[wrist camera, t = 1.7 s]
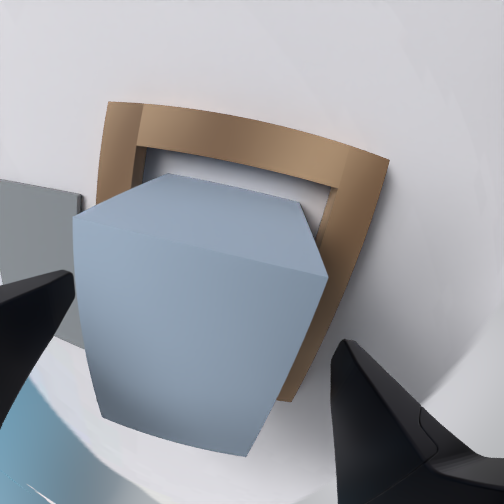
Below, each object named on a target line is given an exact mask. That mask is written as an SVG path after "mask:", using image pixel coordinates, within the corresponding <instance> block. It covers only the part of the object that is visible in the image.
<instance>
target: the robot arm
mask: <svg viewBox="0 0 504 504" xmlns="http://www.w3.org/2000/svg"><path fill="white" fill-rule="evenodd" d="M74 298H75V285H74V276H73V273H72V272H69V271H67V270H63V269H62V270H58V271H54V272H50V273H46V274H42V275H38V276H34V277H31V278H27V279H23V280H19V281H16V282H12V283H8V284H5V285H1V286H0V429H1V426H2V423H3V422H4V420H5V418H6V416H7V414H8V412H9V410H10V408H11V406H12V404H13V403H14V401H15V399H16V397H17V395H18V393H19V391H20V390H21V388H22V386H23V385H24V383H25V381H26V379H27V378H28V376H29V374H30V373H31V371H32V369H33V368H34V366H35V364H36V363H37V361H38V359H39V358H40V356H41V355H42V353H43V351H44V350H45V348H46V347H47V345H48V344H49V342H50V341H51V339H52V338H53V336H54V335H55V333H56V331H57V329H58V328H59V326H60V324H61V322H62V320H63V319H64V317H65V315H66V313H67V311H68V310H69V308H70V306H71V304H72V302H73V301H74ZM331 414H332V424H333V435H334V447H335V461H336V476H337V493H338V494H337V495H338V504H504V458H488V457H484V456H481V455H479V454H477V453H475V452H474V451H473V450H471V449H470V448H469V447H468V446H466V445H465V444H464V443H463V442H462V441H460V440H459V439H458V438H457V437H455V436H454V435H453V434H452V433H451V432H449V431H448V430H447V429H446V428H445V427H444V426H442V425H441V424H440V423H439V422H438V421H437V420H436V419H435V418H434V417H433V416H431V415H430V414H429V413H428V412H427V411H426V410H425V409H424V408H423V407H421V405H420V404H419V403H418V402H417V401H416V400H415V399H414V398H413V397H412V396H411V395H410V394H409V393H408V392H407V391H406V390H405V389H404V388H403V387H402V386H401V385H400V384H399V383H398V382H397V381H396V380H395V379H394V378H393V377H391V376H390V375H389V374H388V373H387V372H386V371H385V370H384V369H383V368H382V367H381V366H380V365H379V364H378V363H377V362H376V361H375V360H374V359H373V358H372V357H371V356H370V355H369V354H368V353H367V352H366V351H365V350H364V349H363V348H362V347H361V346H359V345H358V344H357V343H356V342H355V341H354V340H347V339H343V340H341V342H340V343H339V345H338V347H337V349H336V351H335V353H334V355H333V357H332V359H331Z"/></svg>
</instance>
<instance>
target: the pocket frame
mask: <svg viewBox="0 0 504 504" xmlns="http://www.w3.org/2000/svg"><path fill="white" fill-rule="evenodd" d="M147 147H151V148H158V149H165V150H171V151H177V152H183V153H189V154H194V155H200V156H205V157H210V158H215V159H220V160H225V161H230V162H235V163H240V164H244V165H249V166H253V167H258V168H262V169H266V170H270V171H275V172H279V173H283V174H287V175H291V176H294V177H298V178H302V179H306V180H310V181H313V182H317V183H320V184H324V185H327V186H331V190H330V193H329V197H328V200H327V203H326V207H325V210H324V213H323V217H322V220H321V223H320V226H319V230H318V233H317V236H316V239H315V243H316V246H317V248H318V251H319V253H320V256H321V259H322V261H323V264H324V266H325V269H326V272H327V275H328V277H329V278H328V280H327V283H326V286H325V288H324V291H323V293H322V296H321V298H320V301H319V303H318V306H317V309H316V311H315V313H314V316H313V318H312V321H311V323H310V326H309V328H308V330H307V333H306V335H305V337H304V340H303V342H302V344H301V347H300V349H299V351H298V354H297V356H296V358H295V360H294V363H293V365H292V367H291V369H290V371H289V373H288V376H287V378H286V380H285V382H284V384H283V386H282V388H281V390H280V393H279V395H278V397H277V399H276V400H278V401H286V402H292V400H293V398H294V396H295V395H296V393H297V391H298V389H299V387H300V385H301V383H302V381H303V379H304V377H305V376H306V374H307V372H308V370H309V368H310V366H311V364H312V362H313V360H314V358H315V356H316V354H317V352H318V349H319V347H320V345H321V343H322V341H323V339H324V337H325V335H326V332H327V330H328V328H329V326H330V324H331V322H332V319H333V317H334V315H335V313H336V310H337V308H338V306H339V303H340V301H341V299H342V296H343V294H344V291H345V289H346V287H347V284H348V282H349V279H350V277H351V274H352V272H353V269H354V267H355V264H356V261H357V259H358V256H359V253H360V251H361V248H362V245H363V243H364V240H365V237H366V234H367V231H368V228H369V226H370V223H371V220H372V217H373V214H374V211H375V208H376V205H377V201H378V198H379V195H380V192H381V189H382V185H383V182H384V179H385V175H386V172H387V168H388V165H389V161H390V160H388V159H386V158H383V157H380V156H378V155H375V154H372V153H370V152H367V151H364V150H361V149H358V148H355V147H352V146H349V145H346V144H343V143H340V142H337V141H333V140H330V139H327V138H324V137H320V136H317V135H313V134H310V133H306V132H302V131H299V130H295V129H291V128H287V127H283V126H279V125H275V124H270V123H266V122H262V121H257V120H252V119H248V118H243V117H237V116H232V115H227V114H221V113H215V112H209V111H203V110H196V109H189V108H181V107H173V106H164V105H153V104H142V103H127V102H108V106H107V112H106V117H105V123H104V130H103V136H102V144H101V151H100V160H99V170H98V181H97V195H96V205H97V204H99V203H101V202H104V201H106V200H108V199H110V198H112V197H114V196H116V195H119V194H121V193H123V192H125V191H127V190H130V189H132V188H134V187H136V186H139V185H141V184H142V180H143V172H144V165H145V158H146V151H147Z"/></svg>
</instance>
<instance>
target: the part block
mask: <svg viewBox="0 0 504 504" xmlns="http://www.w3.org/2000/svg"><path fill="white" fill-rule="evenodd" d="M73 255H74V271H75V283H76V293H77V302H78V309H79V317H80V323H81V330H82V336H83V341H84V347H85V352H86V357H87V361H88V366H89V370H90V375H91V379H92V383H93V387H94V391H95V394H96V398H97V402H98V405H99V408H100V412H101V415H102V417H103V418H105V419H108V420H110V421H113V422H115V423H118V424H120V425H123V426H126V427H129V428H131V429H134V430H137V431H140V432H143V433H146V434H149V435H152V436H156V437H159V438H162V439H166V440H169V441H173V442H176V443H180V444H184V445H188V446H192V447H196V448H201V449H205V450H210V451H215V452H220V453H225V454H231V455H237V456H243V457H246V456H247V454H248V453H249V451H250V449H251V447H252V445H253V443H254V442H255V440H256V438H257V436H258V434H259V432H260V430H261V428H262V426H263V425H264V423H265V421H266V419H267V417H268V415H269V413H270V411H271V409H272V407H273V405H274V403H275V401H276V399H277V397H278V395H279V393H280V390H281V388H282V386H283V384H284V382H285V380H286V378H287V376H288V373H289V371H290V369H291V367H292V365H293V363H294V360H295V358H296V356H297V354H298V351H299V349H300V347H301V344H302V342H303V340H304V337H305V335H306V333H307V330H308V328H309V326H310V323H311V321H312V318H313V316H314V313H315V311H316V309H317V306H318V303H319V301H320V298H321V296H322V293H323V291H324V288H325V286H326V283H327V280H328V278H329V277H328V275H327V272H326V269H325V266H324V264H323V261H322V259H321V256H320V253H319V251H318V248H317V246H316V243H315V241H314V238H313V235H312V233H311V230H310V228H309V225H308V223H307V221H306V218H305V216H304V213H303V211H302V208H301V206H300V204H299V202H296V201H292V200H288V199H284V198H280V197H276V196H272V195H268V194H264V193H259V192H255V191H251V190H246V189H242V188H238V187H233V186H228V185H224V184H219V183H214V182H210V181H205V180H200V179H195V178H190V177H185V176H180V175H174V174H169V173H168V174H165V175H163V176H160V177H158V178H155V179H153V180H150V181H148V182H146V183H143V184H141V185H139V186H136V187H134V188H132V189H130V190H127V191H125V192H123V193H121V194H119V195H116V196H114V197H112V198H110V199H108V200H106V201H104V202H101V203H99V204H97V205H95V206H93V207H91V208H89V209H87V210H85V211H83V212H81V213H79V214H77V215H75V216H73Z"/></svg>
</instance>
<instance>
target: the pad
mask: <svg viewBox="0 0 504 504" xmlns="http://www.w3.org/2000/svg"><path fill="white" fill-rule="evenodd" d="M80 209H81V194H77V193H72V192H67V191H61V190H56V189H51V188H46V187H40V186H35V185H30V184H24V183H19V182H13V181H7V180H2V179H0V272H1V277H2V282H3V285H5V284H8V283H12V282H16V281H19V280H23V279H27V278H31V277H34V276H38V275H42V274H46V273H50V272H54V271H58V270H62V269H63V270H67V271H69V272H72V273H73V276H74V285H75V298H74V301H73V302H72V304H71V306H70V308H69V310H68V311H67V313H66V315H65V317H64V319H63V320H62V322H61V324H60V326H59V328H58V329H57V331H56V333H55V335H54V336H56V337H58V338H60V339H62V340H64V341H67V342H69V343H71V344H73V345H76V346H78V347H80V348H83V349H85V347H84V341H83V336H82V330H81V323H80V317H79V309H78V302H77V293H76V283H75V271H74V255H73V216H75V215H77V214H79V213H80Z"/></svg>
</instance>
